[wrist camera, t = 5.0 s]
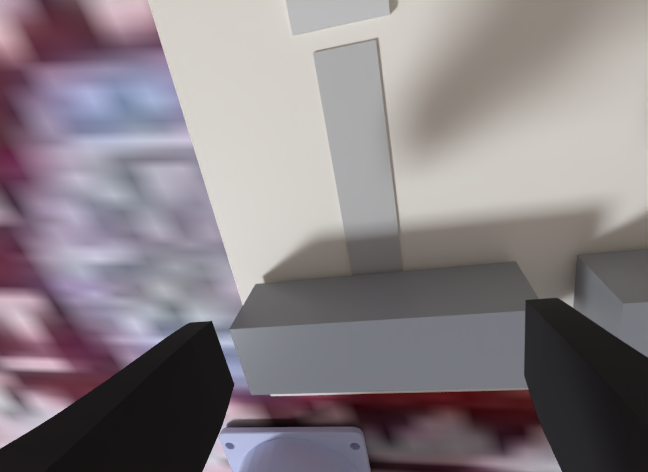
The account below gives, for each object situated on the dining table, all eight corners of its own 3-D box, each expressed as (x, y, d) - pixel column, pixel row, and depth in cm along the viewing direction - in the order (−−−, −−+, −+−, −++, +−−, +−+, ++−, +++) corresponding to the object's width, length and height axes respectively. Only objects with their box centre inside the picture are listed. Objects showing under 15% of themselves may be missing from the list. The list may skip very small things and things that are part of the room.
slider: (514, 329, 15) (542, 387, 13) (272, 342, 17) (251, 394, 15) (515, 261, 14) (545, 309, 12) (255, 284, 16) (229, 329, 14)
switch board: (866, 361, 15) (906, 387, 14) (276, 380, 20) (269, 400, 19) (1167, -312, 8) (1296, -372, 7) (153, -30, 13) (130, -39, 12)
